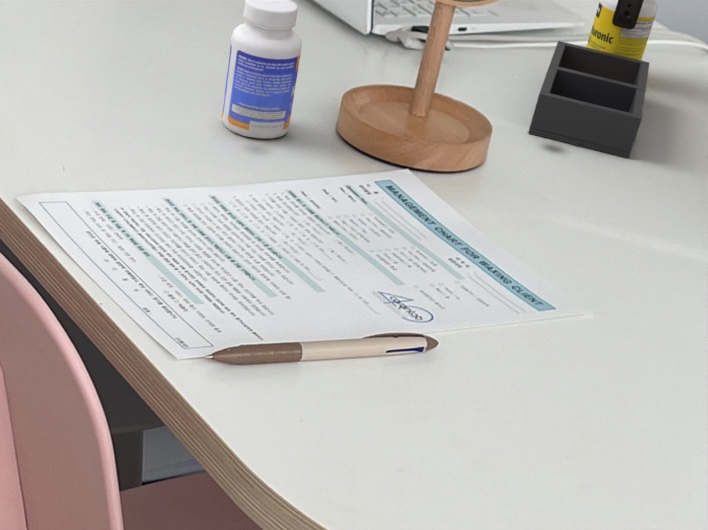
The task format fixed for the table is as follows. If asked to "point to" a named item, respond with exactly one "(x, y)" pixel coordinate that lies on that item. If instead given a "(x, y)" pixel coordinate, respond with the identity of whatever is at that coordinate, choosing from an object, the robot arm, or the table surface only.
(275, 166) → the table surface
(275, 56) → the pill bottle
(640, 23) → the supplement bottle
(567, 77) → the sorting tray
